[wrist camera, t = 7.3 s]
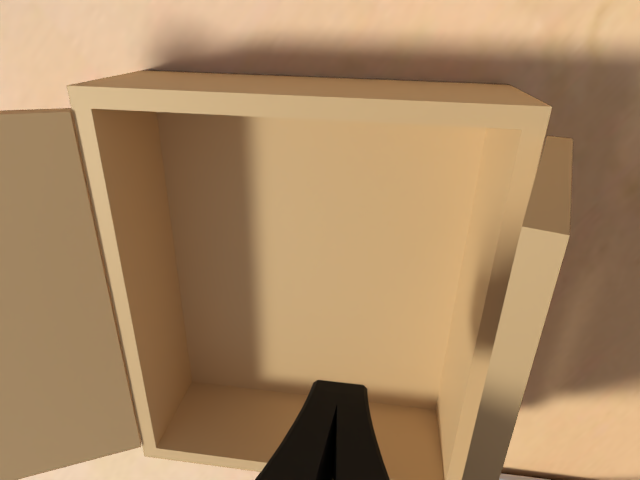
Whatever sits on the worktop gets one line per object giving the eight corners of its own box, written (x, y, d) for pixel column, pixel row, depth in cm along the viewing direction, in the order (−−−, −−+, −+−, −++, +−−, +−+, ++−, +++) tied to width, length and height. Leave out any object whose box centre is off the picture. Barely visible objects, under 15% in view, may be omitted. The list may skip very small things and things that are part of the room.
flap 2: (412, 687, 12) (434, 701, 12) (521, 225, 6) (569, 235, 6) (462, 489, 17) (477, 496, 17) (547, 135, 12) (573, 138, 11)
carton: (445, 410, 22) (458, 498, 18) (186, 381, 23) (144, 456, 19) (508, 84, 15) (552, 106, 11) (143, 70, 17) (66, 85, 13)
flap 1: (-235, 123, 11) (-219, 118, 11) (-47, 496, 17) (-42, 482, 17) (69, 111, 13) (71, 108, 13) (141, 446, 19) (140, 435, 19)
